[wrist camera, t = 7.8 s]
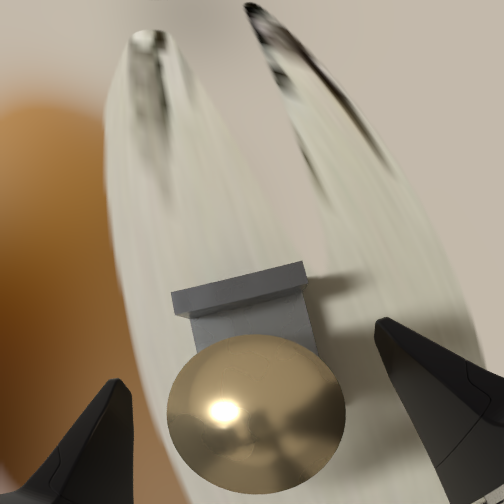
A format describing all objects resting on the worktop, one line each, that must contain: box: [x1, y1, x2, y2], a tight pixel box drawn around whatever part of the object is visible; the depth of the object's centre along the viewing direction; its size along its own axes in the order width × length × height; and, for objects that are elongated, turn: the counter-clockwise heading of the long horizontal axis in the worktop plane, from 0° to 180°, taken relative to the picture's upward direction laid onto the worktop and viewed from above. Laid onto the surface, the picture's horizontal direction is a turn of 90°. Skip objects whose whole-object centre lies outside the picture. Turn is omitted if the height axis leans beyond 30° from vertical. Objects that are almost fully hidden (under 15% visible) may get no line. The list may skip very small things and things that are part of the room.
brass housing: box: [167, 334, 346, 494], centre depth 12 cm, size 5×5×10 cm
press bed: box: [171, 261, 319, 357], centre depth 16 cm, size 9×7×4 cm
